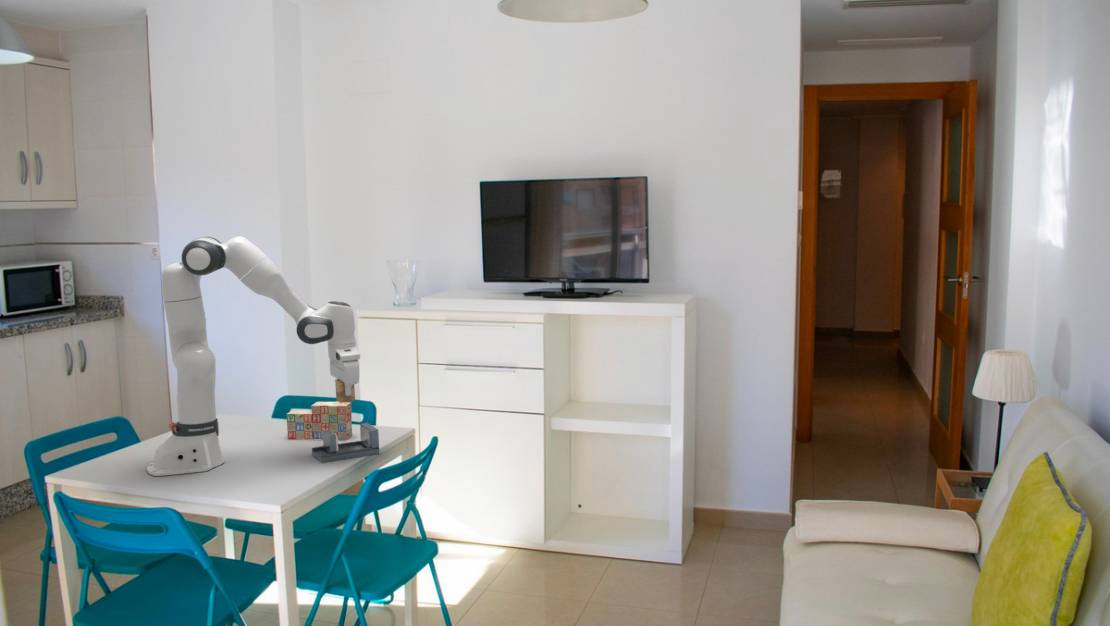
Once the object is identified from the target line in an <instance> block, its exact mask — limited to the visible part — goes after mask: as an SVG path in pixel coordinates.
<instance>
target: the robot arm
mask: <svg viewBox="0 0 1110 626" xmlns="http://www.w3.org/2000/svg"><path fill="white" fill-rule="evenodd" d="M223 268H224V269H227V270H229V271H230V272H231V273H232V274H233V275H234V276H236V277H237V278H238V280H239V281H240V282H242V284H243V285H244V286H246V287H247V288H248V289H249V290H250V291H252V292H254V293H255V294H257V295H260V296H264V297H266V298H269V299H272V300H273V301H274V302H275V303H277V304H278V305H279V306H280V307H281V308H282V309H283V310H284V311H285V312H286V313H288V316H289V315H290V317H291V318H292V319H293V320H294V321H295V324H296V329H295V331H296V335H297V337H298V338H299V340H300V341H301V342H303V343H305V344H309V345H317V344H319V343H325V342H327V352H328V358H329V372H330V373H329V374H330V376H332V377H333V378H335V379H339V380H340V381H342V382H344V385H345V390H344V394H345V395H346V396H349V395H351V387H352V384H354V385H356V384H359V381H360V362H359V360H360V359H361V353H360V352H359V350H358V347H357V340H356V337H355V330H356V324H355V315H354V311H353V308H352V306H351V305H350V304H349V303H346V302H344V301H336V300H335V301H328V302H327V303H326V304H325V305H323V306H322V307H319V308H318V309H317V308H314V307H312V306H310V305H309V304H308V303H306V302H305V301H304V300H303V298H301V296H300V295H298V294H297V293H296V292H295V291H294V290H293V289H292V288H291V287H290V286H289V284H288V283H287V282H286V280H285V278H284V276H283V274H282V273H281V272H280V270H279V269H278V267H277V266H276V264H275V263H274V262H273V261H272V260H271V259H270V257H268V256H267V254H266V253H264V251H263V250H261V249H260V247H258V246H257V245H255V244H254V243H253V242H251V240H249V239H247V238H246V237H244V236H240V235H239V236H238V235H237V236H234V237H232V238H230V239H228V240H227V241H226V242H224V243H222V242H221V241H220V240H218V239H217V238H214V237H212V236H201V237H197V238H195V239H192V240H191V241H190V242H189V243H187V245H185V246H184V248H183V250H182V253H181V261H179V262H174V263H171V264H169V265H167V266H165V268H163V269H162V273H161V291H162V292H161V294H162V298H163V299H162V300H163V306H164V312H165V316H166V322H167V330H168V339H169V345H170V346H169V347H170V354H171V359H172V363H173V365H174V367H175V368H176V371H177V372H176V373H177V390H176V391H177V394H176V402H177V403H176V404H177V418H178V419H177V420H178V421H176V422H174V421H171V422H169V424H168V428H169V429H170V430H171V433H172V434H171V436H169V437H168V438H167V439H166V440H165V441H164V442H162V443H161V444H160V445H158V447H157V448H156V450H155V452H154V458H153V461H152V462H150V463H149V464H147V467H146V472H147V473H148V474H149V475H150V476H153V477H161V476H171V475H181V474H191V473H201V472H202V473H203V472H208V471H210V470H211V469H213V468H216V467H219V466H220V465H222V464H224V463H225V459H224V456H223V454H222V450H221V446H220V441H219V435H220V426H219V425H220V424H219V419H218V418H217V411H216V408H217V407H216V394H215V393H216V370H217V369H216V368H217V367H216V356H215V354H214V352H213V351H212V350H211V349H210V347H209V343H208V342H209V341H208V334H207V319H206V312H205V308H204V301H203V296H202V291H201V282H200V281H201V278H202V276H208V275H210V274H211V273H213V272H216V271H218V270H221V269H223Z"/></svg>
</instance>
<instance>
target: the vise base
mask: <svg viewBox="0 0 1110 626" xmlns="http://www.w3.org/2000/svg"><path fill="white" fill-rule="evenodd" d="M359 430H360V431H359V433H360V436H359V437H360V440H356V441H348V442H342V443H338V452H337V453H328V452H327V451H326V450H324V446H322V445H321V446H316V447H311V456H313V457H314V458H315V459H316V460H318V461H319V462H320V463H329V462H335V461H341V460H342V459H343V460H348V458H349V459H355V458H360V457H367V456H373V455H379V454H380V440H379V439H380V437H379V429H378V428H377V427H375V426H374V425H372V424H370V423H368V422H363V423H360V425H359ZM343 460H342V461H343Z"/></svg>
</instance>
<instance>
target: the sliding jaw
mask: <svg viewBox="0 0 1110 626" xmlns="http://www.w3.org/2000/svg"><path fill="white" fill-rule="evenodd" d="M322 443H323V446H324V450H326V451H327V452H328V453H337V452H338V444H339V440H338V436H337V435H336V434H334V433H333V432H332V431H329V430H325V431H323V440H322Z"/></svg>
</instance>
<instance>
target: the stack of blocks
mask: <svg viewBox="0 0 1110 626" xmlns="http://www.w3.org/2000/svg"><path fill="white" fill-rule="evenodd" d="M310 407H311V409H292V410H291V411H289V412H288V413H286V424H287V425H286V426H287V427H286V429H287V440H301V439H304V440H305V439H321V440H320V441H323V431H325V430H329V431H332V432H333V433H334V434H336V435H337V436H338V441H347V440H349V439H350V438H351V437H352V436H353V427H352V425H353V424H352V422H353V421H352V401H350V402H343V403H339V402H338V401H316V402H315V403H313V404H312V405H310Z"/></svg>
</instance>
